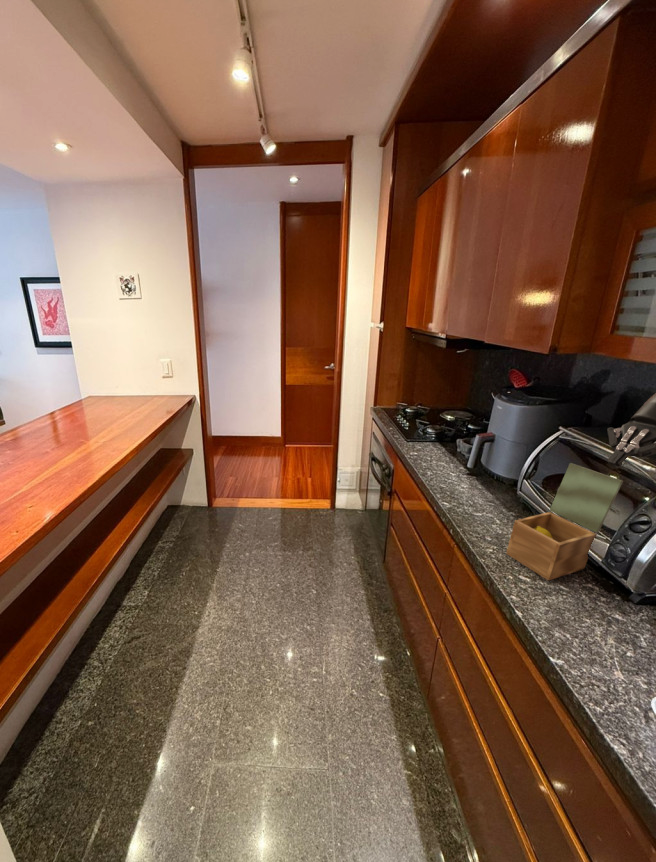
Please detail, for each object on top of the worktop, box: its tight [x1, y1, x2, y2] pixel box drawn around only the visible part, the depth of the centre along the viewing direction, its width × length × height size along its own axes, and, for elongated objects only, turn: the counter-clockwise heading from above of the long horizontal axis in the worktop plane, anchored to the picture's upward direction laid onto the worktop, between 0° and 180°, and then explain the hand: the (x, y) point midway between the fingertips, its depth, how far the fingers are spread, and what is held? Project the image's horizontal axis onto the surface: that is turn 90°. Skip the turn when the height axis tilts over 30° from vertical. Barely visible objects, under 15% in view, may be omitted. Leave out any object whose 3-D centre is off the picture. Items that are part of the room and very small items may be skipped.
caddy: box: [505, 511, 598, 581], centre depth 97 cm, size 13×12×10 cm
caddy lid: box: [549, 462, 624, 534], centre depth 95 cm, size 13×12×1 cm
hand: (611, 465), depth 94 cm, fingers closed
